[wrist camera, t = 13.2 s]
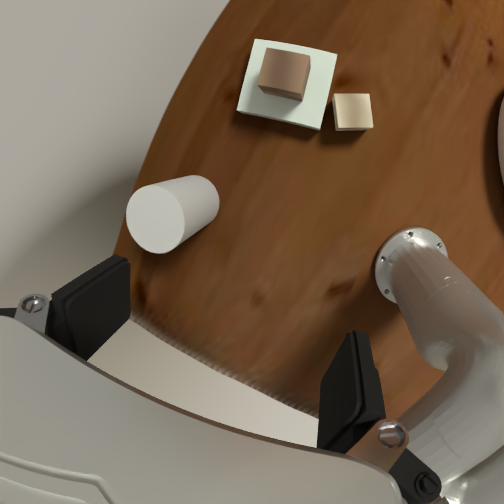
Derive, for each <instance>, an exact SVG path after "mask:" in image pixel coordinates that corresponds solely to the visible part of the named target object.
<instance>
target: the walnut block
mask: <svg viewBox="0 0 504 504" xmlns="http://www.w3.org/2000/svg"><path fill="white" fill-rule="evenodd" d="M310 69H311V63H310V55H305V54H300V53H296V52H291V51H285V50H280V49H273V48H266V51H265V55H264V59H263V62H262V66H261V70H260V74H259V77H258V81H257V86H258V87H259V88H260V89H261V90H262V91H263V93H264V94H269V95H274V96H279V97H284V98H288V99H292V100H297V101H301V102H302V101H303V97H304V93H305V89H306V85H307V81H308V77H309V73H310Z"/></svg>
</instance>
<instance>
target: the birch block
mask: <svg viewBox="0 0 504 504" xmlns="http://www.w3.org/2000/svg"><path fill="white" fill-rule="evenodd" d="M332 104H333V111H334V120H335V129H336V131H344V130H369V129H371V128H373V121H372V113H371V105H370V98H369V94H334V96H333V99H332Z"/></svg>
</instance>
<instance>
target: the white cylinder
mask: <svg viewBox="0 0 504 504" xmlns="http://www.w3.org/2000/svg"><path fill="white" fill-rule="evenodd" d="M218 209H219V196H218V193H217V191H216V189H215V187H214V186H213V184H212V183H211V182H210V181H209V180H207V179H205V178H204V177H201V176H196V175H191V176H186V177H182V178H177V179H173V180H169V181H165V182H161V183H157V184H153V185H149V186H145V187H142V188H140V189H139V190H137V191H136V192H135V193H134V194H133V195H132V197H131V199H130V200H129V203H128V206H127V211H126V219H127V225H128V228H129V231H130V233H131V235H132V237H133V238H134V240H135V241H136V242H137V243H138V244H139V245H140V246H141V247H142V248H144V249H145V250H147V251H149V252H153V253H166V252H169V251H171V250H172V249H174V248H175V247H176V246H178V245H179V244H181V243H182V242H183V241H185V240H186V239H188V238H189V237H190V236H192V235H193V234H195V233H196V232H197V231H199V230H200V229H202V228H203V227H204V226H206V225H207V224H209V223H210V222H211V221H212V220H213V219H214V218H215V216H216V215H217V212H218Z"/></svg>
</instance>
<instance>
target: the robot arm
mask: <svg viewBox="0 0 504 504" xmlns="http://www.w3.org/2000/svg"><path fill="white" fill-rule="evenodd" d="M409 232H410V234H408V233H409ZM437 244H438V245H437ZM382 256H384V257H383V258H381V257H382ZM374 272H375V279H376V282H377V285H378V287H379V289H380V291H381V293H382V294H383V295H384V296H385V297H386V298H387V299H388V300H390V301H392V302H394V303H397V304H398V307H399V309H400V311H401V313H402V315H403V318H404V320H405V322H406V324H407V327H408V329H409V331H410V334H411V336H412V338H413V341H414V343H415V345H416V348H417V350H418V352H419V354H420V356H421V357H422V358H423V360H424V361H426V362H427V363H428V364H429V365H431V366H433V367H435V368H438V369H441V370H446V372H445V373H444V375H443V376H442V377H441V378H440V379H439V380H438V381H437V382H436V383H435V384H434V385H433V386H432V388H431V389H430V390H429V391H428V392H427V393H426V394H425V395H424V396H422V397H421V398H420V399H419V400H418V401H417V402H416V403H415V404H414V405H412V406H411V407H410V408H409V409H408V410H407V411H406V412H404V413H403V414H402V415H401V416H400V417H399V418H397V419H396V420H393V419H386V414H385V407H384V401H383V395H382V389H381V384H380V378H379V373H378V370H377V369H376V368H375V366H374V361H373V356H372V351H371V346H370V342H369V337H368V334H367V333H363V332H359V331H355V330H354V331H353V332H352V333H347V335H346V337H345V339H344V341H343V342H342V344H341V346H340V348H339V350H338V352H337V354H336V356H335V357H334V359H333V361H332V363H331V365H330V366H329V368H328V370H327V372H326V373H325V375H324V377H323V379H322V382H321V388H320V408H319V424H318V437H317V448H314V447H309V446H304V445H299V444H294V443H290V442H286V441H282V440H277V439H274V438H269V437H265V436H262V435H258V434H254V433H251V432H247V431H244V430H241V429H237V428H234V427H231V426H228V425H225V424H222V423H218V422H216V421H213V420H210V419H207V418H204V417H202V416H199V415H196V414H194V413H191V412H188V411H186V410H183V409H181V408H179V407H176V406H174V405H171V404H169V403H167V402H164V401H162V400H160V399H158V398H155V397H153V396H151V395H149V394H147V393H145V392H143V391H141V390H138V389H136V388H134V387H132V386H130V385H128V384H127V383H124V382H123V381H121V380H119V379H117V378H115V377H113V376H111V375H110V374H108V373H106V372H104V371H102V370H101V369H99V368H97V367H96V366H94V365H92V364H90V363H89V362H87V360H88V359H89V358H90V357H91V356H92V355H93V354H94V353H95V352H96V351H97V350H98V349H99V348H100V347H101V346H102V345H103V344H104V343H105V342H106V341H107V340H108V339H109V338H110V337H111V336H112V335H113V334H114V333H115V332H116V331H117V330H118V329H119V328H120V327H121V326H122V325H123V324H124V323H125V322H126V321H127V320H128V319H129V317H130V263H128V260H127V259H126V258H124V257H122V256H119V255H116V254H115V255H113V256H111V257H110V258H108V259H106V260H105V261H103V262H101V263H100V264H98V265H96V266H95V267H93V268H92V269H90V270H88V271H87V272H85V273H83V274H82V275H80V276H79V277H77V278H75V279H74V280H72V281H71V282H69V283H68V284H66V285H65V286H63V287H62V288H60V289H59V290H57V291H55V292H54V293H52V294H51V295H52V300H51V301H50V302H49V300H48V298H47V297H46V296H44V295H41V294H31V295H27V296H26V297H24V298H23V299H22V300H20V302H19V304H18V307H17V308H0V504H504V313H503V312H501V311H500V310H499V309H498V308H497V307H496V306H495V305H494V304H493V303H492V302H491V301H490V300H489V299H488V298H487V297H486V296H485V295H484V294H483V293H482V292H481V291H480V290H479V289H478V287H476V286H475V285H474V284H473V283H472V281H471V280H470V279H469V278H468V277H467V276H466V275H465V274H464V273H462V272H461V271H460V270H459V269H458V268H457V267H456V266H455V265H454V264H453V263H452V262H451V261H450V260H449V259H448V255H447V250H446V248H445V245H444V243H443V242H442V240H441V239H440V238H439V237H438V236H437V235H436V234H435V233H433V232H432V231H430V230H428V229H426V228H422V227H409V228H405V229H402V230H400V231H398V232H396V233H395V234H394V235H392V236H391V237H390V238H389V239H388V240H387V241H386V242H385V243H384V244H383V246H382V247H381V249H380V251H379V253H378V255H377V258H376V262H375V271H374ZM386 289H387V290H386Z"/></svg>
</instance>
